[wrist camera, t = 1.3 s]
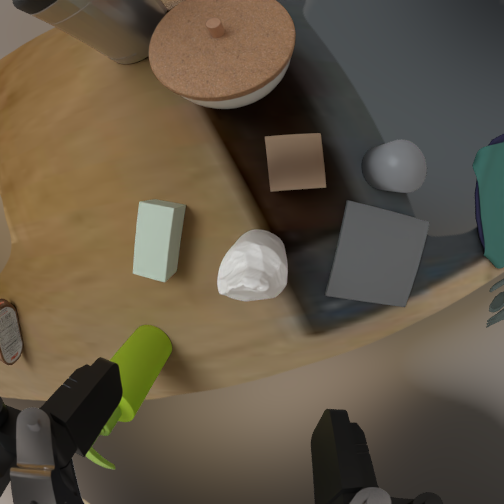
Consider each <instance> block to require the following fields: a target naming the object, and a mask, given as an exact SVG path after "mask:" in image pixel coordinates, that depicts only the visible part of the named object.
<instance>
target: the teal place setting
mask: <svg viewBox="0 0 504 504" xmlns="http://www.w3.org/2000/svg"><path fill="white" fill-rule="evenodd" d="M473 169H474V172H475V174H476V177H477V181H476V189H475V214H476V222H477V227H478V232H479V238H480V241H481V243H482V245H483V247H484V249H485V254H484V256H486V258H487V259H489V261H490V262H492V264H493V265H494V266H495V267H496V268H499V269H500V268H503V267H504V134H502V135H500V136H498V137H496V138H495V139H493V140H492V141H491V142H490V144H489V145H488V146H486V147H483V148H481V149H480V150H479V151H478V152H477V154H476V157H475V160H474V163H473ZM502 285H504V279H502V280H501V281H499V282H497V283H496V284H495V285H493V286H492V288H491V289H490V292H492V291H494V290H496V289H497V288H499V287H501V286H502ZM503 306H504V292H501V293H500V294H498V295H497V296H496V297H495V298H494V300H493V301H492V303H491V304H490V308H489V311H490V312H496V311H498V310H500V309H501V308H502V307H503ZM503 319H504V309H502V310H501V311H499V312H498V313H497V314H496V315H494V316H493V317H491V318H490V319H489V320H488V321H487V322H488V323H487V327H489V326H490V325H492V324H495V323H497V322H499V321H501V320H503ZM489 323H490V324H489ZM488 324H489V325H488Z"/></svg>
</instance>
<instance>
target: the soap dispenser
mask: <svg viewBox="0 0 504 504" xmlns="http://www.w3.org/2000/svg"><path fill="white" fill-rule="evenodd" d="M171 351H172V345H171V341H170V339H169V338H168V336H167V335H166V334H165V333H164V332H163V331H162V330H160V329H159V328H157V327H155V326H152V325H143V326H140V327H139V328H137V330H136V331H135V332H134V333H133V334H132V335H131V336H130V337H129V339H128V340H127V341H126V342H125V343H124V344H123V346H122V347H121V348H120V349H119V350H118V351H117V352H116V354H115V355H114V356H113V357H112V358H111V359H110V361H111V362H114V363H117V364H118V366H119V370H120V377H121V383H122V389H123V394H122V399H121V401H120V403H119V405H118V406H117V408H116V409H115V411H114V412H113V414H112V415H111V417H110V418H109V420H108V422H107V423H106V425H105V426H104V428H103V429H102V431H101V432H100V434H99V435H104V436H107V435H109V434H110V433H111V431H112V429H113V428H114V426H115V425H116V423H117V421H121V422H129V421H131V420H132V419H133V418H134V416H135V415H136V412H137V411H138V409H139V407H140V406H141V404H142V402H143V401H144V399H145V397H146V395H147V394H148V392H149V390H150V388H151V387H152V385H153V383H154V381H155V380H156V378H157V376H158V374H159V373H160V371H161V369H162V368H163V366H164V364H165V362H166V361H167V359H168V357H169V356H170V354H171ZM99 435H98V436H99ZM96 439H97V438H96ZM95 441H96V440H95ZM93 444H94V443H93ZM86 457H87V458H89V459H90V460H92V461H93V462H94V463H96V464H98V465H100V466H102V467H104V468H109V469H115V466H114V464H112V463H110V462H108V461H107V460H106V459H104V458H103V457H102V456H101V455H99V454H98V453H97V452H96V451H95V450H94V449H93V448H92V446H91V448H90V449H89V451H88V452H87V454H86Z"/></svg>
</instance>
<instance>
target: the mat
mask: <svg viewBox="0 0 504 504" xmlns="http://www.w3.org/2000/svg"><path fill="white" fill-rule="evenodd" d="M428 227H429V222H428V221H425V220H421V219H417V218H414V217H411V216H407V215H404V214H400V213H396V212H393V211H389V210H385V209H381V208H377V207H373V206H369V205H365V204H361V203H357V202H353V201H349V200H347V201H346V206H345V211H344V216H343V221H342V226H341V230H340V235H339V239H338V244H337V248H336V252H335V257H334V261H333V265H332V269H331V273H330V277H329V281H328V284H327V288H326V292H325V295H326V296H331V297H337V298H344V299H351V300H357V301H364V302H371V303H379V304H386V305H393V306H401V307H405V306H406V303H407V300H408V297H409V294H410V291H411V288H412V285H413V282H414V279H415V276H416V273H417V269H418V266H419V263H420V259H421V255H422V252H423V248H424V244H425V240H426V236H427V232H428Z"/></svg>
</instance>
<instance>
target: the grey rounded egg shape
mask: <svg viewBox="0 0 504 504" xmlns="http://www.w3.org/2000/svg"><path fill="white" fill-rule="evenodd" d="M362 173H363V176H364V178H365V180H366V181H367V182H368V183H369V184H370V185H371V186H372V187H373V188H375V189H378V190H385V191H394V192H402V193H410V192H414V191H416V190H417V189H419V188H420V187H421V185H422V184H423V183H424V180H425V177H426V173H427V166H426V161H425V158H424V155H423V153H422V152H421V150H420V149H419V148H418V147H417V146H416V145H415V144H414V143H412V142H410V141H408V140H403V139H402V140H401V139H399V140H395V141H392V142H389V143H385V144H382V145H379V146H376V147H373V148H371V149H370V150H368V151H367V152H366V154H365V155H364V157H363V160H362Z"/></svg>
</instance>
